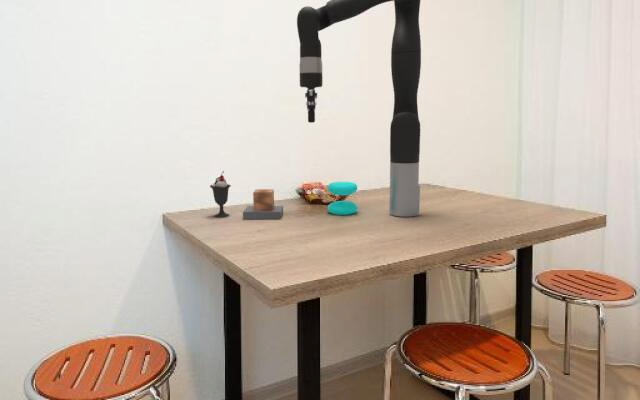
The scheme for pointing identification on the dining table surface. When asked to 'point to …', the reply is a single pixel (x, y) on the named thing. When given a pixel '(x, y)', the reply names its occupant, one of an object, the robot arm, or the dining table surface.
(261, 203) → the cube
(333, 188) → the donuts
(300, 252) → the dining table surface
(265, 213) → the base
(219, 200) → the sundae
